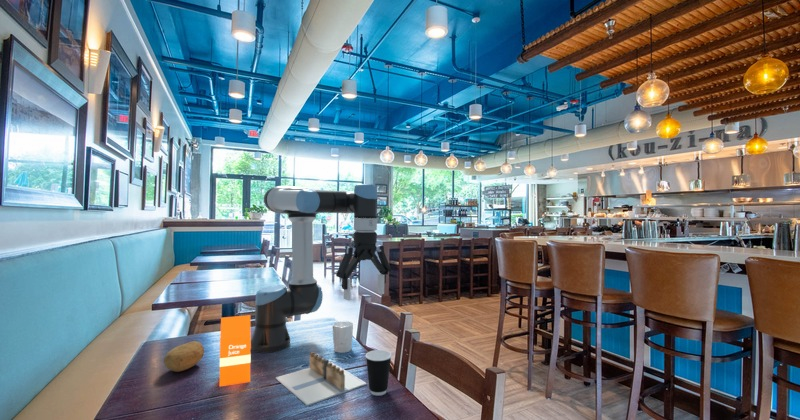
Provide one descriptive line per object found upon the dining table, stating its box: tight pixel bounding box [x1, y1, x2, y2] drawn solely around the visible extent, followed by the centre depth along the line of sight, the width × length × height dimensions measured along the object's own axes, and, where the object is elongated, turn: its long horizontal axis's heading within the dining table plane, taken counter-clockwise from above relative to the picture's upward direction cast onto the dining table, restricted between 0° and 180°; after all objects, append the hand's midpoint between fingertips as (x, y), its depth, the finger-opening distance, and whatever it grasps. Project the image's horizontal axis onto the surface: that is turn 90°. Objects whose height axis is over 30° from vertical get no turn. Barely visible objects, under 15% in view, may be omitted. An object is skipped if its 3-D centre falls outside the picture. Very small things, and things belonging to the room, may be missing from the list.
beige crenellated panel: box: [309, 351, 327, 377], centre depth 122 cm, size 9×1×5 cm, turn 41°
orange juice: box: [219, 314, 252, 388], centre depth 117 cm, size 8×9×20 cm
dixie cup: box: [364, 349, 393, 396], centre depth 110 cm, size 8×8×11 cm
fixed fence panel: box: [324, 359, 345, 390], centre depth 114 cm, size 11×1×6 cm, turn 41°
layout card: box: [275, 361, 367, 407], centre depth 116 cm, size 22×20×1 cm
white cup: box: [332, 320, 354, 354], centre depth 143 cm, size 8×8×10 cm
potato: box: [163, 340, 205, 373], centre depth 124 cm, size 10×14×8 cm
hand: (364, 296), depth 120 cm, fingers open, 13 cm apart
